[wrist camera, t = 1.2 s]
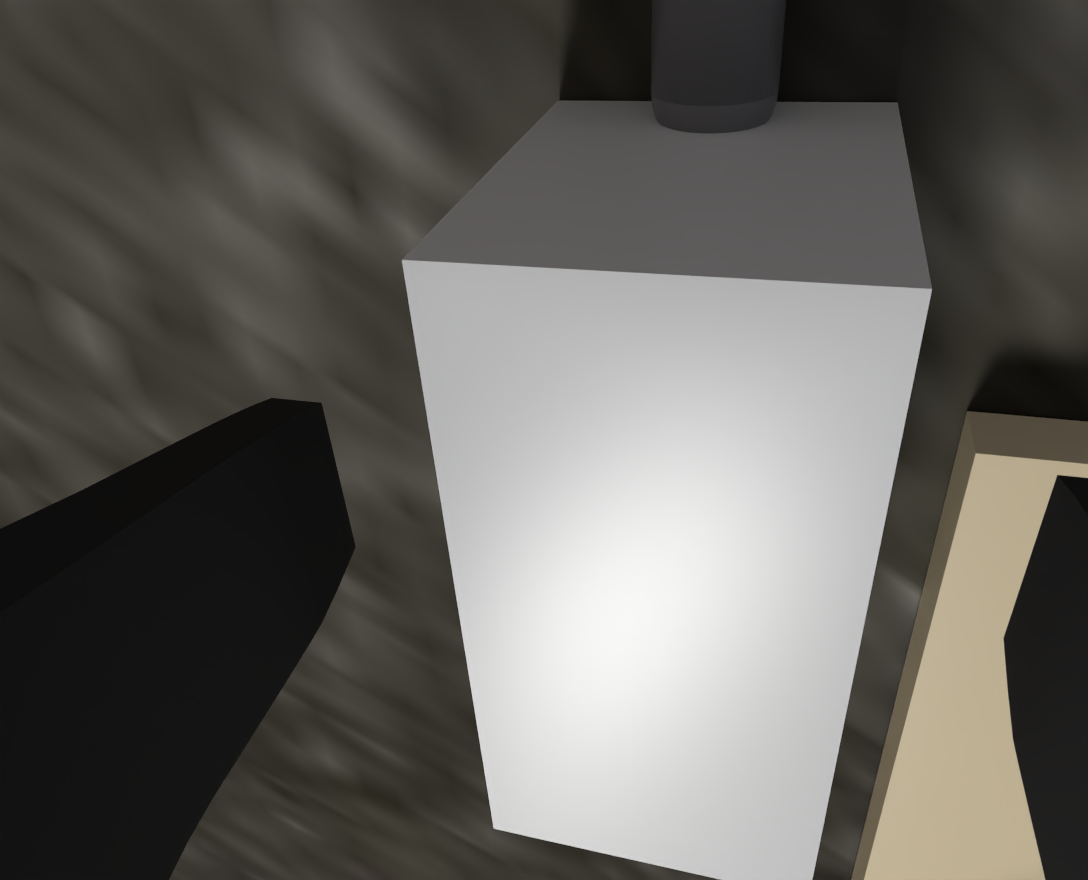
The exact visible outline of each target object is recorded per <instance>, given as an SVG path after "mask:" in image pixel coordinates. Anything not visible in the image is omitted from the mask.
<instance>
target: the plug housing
mask: <svg viewBox="0 0 1088 880" xmlns="http://www.w3.org/2000/svg"><path fill="white" fill-rule="evenodd" d="M785 11H786V0H652V16H651V99H652V101H557V102H556V103H555V104H554V105H553V106H552V107H551V108H550V109H549V110H548V111H547V112H546V113H545V114H544V115H543V117H542V118H541V119H540V120H539V121H538V122H537V123H536V124H535V125H534V126H533V127H532V128H531V129H530V130H529V131H528V132H527V133H526V134H525V135H524V136H523V137H522V138H521V139H520V140H519V141H518V142H517V143H516V144H515V145H514V146H513V147H512V148H511V149H510V150H509V151H508V152H507V153H506V154H505V155H504V156H503V157H502V158H501V159H500V160H499V161H498V162H497V163H496V164H495V165H494V166H493V167H492V168H491V169H490V171H489V172H488V173H487V174H486V175H485V176H484V177H483V178H482V179H481V180H480V181H479V182H478V183H477V184H476V185H475V186H474V187H473V188H472V189H471V190H470V191H469V192H468V193H467V194H466V195H465V196H464V197H463V198H462V199H461V200H460V201H459V202H458V203H457V204H456V205H455V206H454V207H453V208H452V209H451V210H450V211H449V212H448V213H447V214H446V215H445V216H444V217H443V218H442V219H441V220H440V221H439V222H438V224H437V225H436V226H435V227H434V228H433V229H432V230H431V231H430V232H429V233H428V234H427V235H426V236H425V237H424V238H423V239H422V240H421V241H420V242H419V243H418V244H417V245H416V246H415V247H414V248H413V249H412V250H411V251H410V252H409V253H408V254H407V255H406V256H405V257H404V258H403V259H402V264H403V270H404V276H405V283H406V289H407V295H408V301H409V307H410V314H411V320H412V326H413V332H414V338H415V345H416V351H417V357H418V363H419V369H420V375H421V382H422V388H423V394H424V400H425V406H426V413H427V419H428V425H429V431H430V437H431V443H432V450H433V456H434V462H435V468H436V474H437V481H438V487H439V493H440V499H441V505H442V512H443V518H444V524H445V530H446V536H447V542H448V549H449V555H450V561H451V567H452V573H453V580H454V586H455V592H456V598H457V604H458V610H459V617H460V623H461V629H462V635H463V641H464V648H465V654H466V660H467V666H468V672H469V679H470V685H471V691H472V697H473V703H474V709H475V716H476V722H477V728H478V734H479V740H480V747H481V753H482V759H483V765H484V771H485V777H486V784H487V790H488V796H489V802H490V808H491V815H492V821H493V827H494V829H498V830H502V831H507V832H511V833H516V834H520V835H525V836H529V837H533V838H538V839H542V840H547V841H551V842H556V843H560V844H565V845H569V846H574V847H578V848H582V849H587V850H591V851H596V852H600V853H605V854H609V855H614V856H618V857H623V858H627V859H631V860H636V861H640V862H645V863H649V864H654V865H658V866H663V867H667V868H672V869H676V870H680V871H685V872H689V873H694V874H698V875H703V876H707V877H712V878H716V879H721V880H812V879H813V874H814V869H815V864H816V859H817V854H818V849H819V844H820V839H821V834H822V829H823V824H824V820H825V815H826V810H827V805H828V800H829V795H830V790H831V785H832V780H833V775H834V770H835V765H836V760H837V755H838V751H839V746H840V741H841V736H842V731H843V726H844V721H845V716H846V711H847V706H848V701H849V696H850V691H851V686H852V682H853V677H854V672H855V667H856V662H857V657H858V652H859V647H860V642H861V637H862V632H863V627H864V622H865V617H866V612H867V608H868V603H869V598H870V593H871V588H872V583H873V578H874V573H875V568H876V563H877V558H878V553H879V548H880V543H881V539H882V534H883V529H884V524H885V519H886V514H887V509H888V504H889V499H890V494H891V489H892V484H893V479H894V474H895V469H896V465H897V460H898V455H899V450H900V445H901V440H902V435H903V430H904V425H905V420H906V415H907V410H908V405H909V400H910V396H911V391H912V386H913V381H914V376H915V371H916V366H917V361H918V356H919V351H920V346H921V341H922V336H923V331H924V327H925V322H926V317H927V312H928V307H929V302H930V297H931V292H932V286H931V280H930V275H929V270H928V264H927V259H926V253H925V248H924V243H923V237H922V232H921V226H920V221H919V216H918V210H917V205H916V199H915V194H914V189H913V183H912V178H911V173H910V167H909V162H908V156H907V151H906V146H905V140H904V135H903V129H902V124H901V119H900V113H899V108H898V102H777V97H778V92H779V82H780V70H781V58H782V47H783V35H784V23H785Z"/></svg>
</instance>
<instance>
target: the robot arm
mask: <svg viewBox="0 0 1088 880" xmlns="http://www.w3.org/2000/svg"><path fill="white" fill-rule="evenodd" d="M354 549H355V543H354V539H353V534H352V530H351V526H350V522H349V517H348V513H347V509H346V505H345V500H344V496H343V492H342V488H341V484H340V479H339V475H338V471H337V467H336V462H335V458H334V454H333V450H332V445H331V441H330V437H329V433H328V428H327V424H326V420H325V416H324V412H323V407H322V403H317V402H307V401H297V400H287V399H276V398H271V399H268V400H266V401H263V402H261V403H258V404H255V405H253V406H250V407H248V408H246V409H244V410H241V411H239V412H237V413H235V414H233V415H230V416H228V417H226V418H224V419H222V420H220V421H218V422H216V423H214V424H212V425H210V426H208V427H206V428H204V429H202V430H200V431H198V432H196V433H194V434H192V435H190V436H188V437H186V438H184V439H182V440H180V441H178V442H176V443H174V444H172V445H170V446H168V447H166V448H164V449H162V450H160V451H158V452H156V453H154V454H152V455H150V456H148V457H146V458H144V459H142V460H141V461H139V462H137V463H135V464H133V465H131V466H129V467H127V468H125V469H123V470H121V471H119V472H117V473H115V474H113V475H111V476H109V477H107V478H105V479H103V480H101V481H99V482H97V483H95V484H93V485H91V486H89V487H87V488H85V489H83V490H81V491H79V492H77V493H75V494H73V495H71V496H69V497H67V498H65V499H63V500H60V501H58V502H56V503H54V504H52V505H50V506H48V507H46V508H44V509H41V510H39V511H37V512H35V513H33V514H31V515H29V516H27V517H25V518H22V519H20V520H18V521H16V522H14V523H12V524H10V525H8V526H5V527H3V528H1V529H0V880H169V878H170V876H171V874H172V872H173V870H174V868H175V866H176V864H177V862H178V860H179V858H180V856H181V854H182V852H183V850H184V848H185V846H186V844H187V842H188V840H189V838H190V837H191V835H192V833H193V832H194V830H195V828H196V826H197V825H198V823H199V821H200V819H201V818H202V816H203V814H204V812H205V811H206V809H207V807H208V805H209V804H210V802H211V800H212V798H213V797H214V795H215V794H216V792H217V791H218V789H219V787H220V786H221V784H222V783H223V781H224V779H225V778H226V776H227V775H228V773H229V772H230V770H231V768H232V767H233V765H234V764H235V762H236V760H237V759H238V757H239V756H240V754H241V752H242V751H243V749H244V748H245V746H246V745H247V743H248V741H249V740H250V738H251V737H252V735H253V733H254V732H255V730H256V729H257V727H258V726H259V724H260V722H261V721H262V719H263V718H264V716H265V714H266V713H267V711H268V710H269V708H270V707H271V705H272V703H273V702H274V700H275V699H276V697H277V695H278V694H279V692H280V691H281V689H282V688H283V686H284V684H285V683H286V681H287V679H288V678H289V676H290V675H291V673H292V671H293V670H294V668H295V666H296V665H297V663H298V662H299V660H300V658H301V657H302V655H303V653H304V652H305V650H306V649H307V647H308V645H309V644H310V642H311V640H312V639H313V637H314V635H315V634H316V632H317V630H318V629H319V627H320V625H321V623H322V621H323V619H324V617H325V615H326V613H327V611H328V609H329V606H330V604H331V602H332V600H333V598H334V596H335V594H336V591H337V589H338V587H339V585H340V582H341V580H342V577H343V575H344V573H345V570H346V568H347V566H348V563H349V561H350V559H351V556H352V554H353V551H354ZM1003 639H1004V651H1005V663H1006V675H1007V687H1008V698H1009V707H1010V716H1011V726H1012V735H1013V742H1014V746H1015V751H1016V756H1017V760H1018V765H1019V769H1020V773H1021V778H1022V782H1023V786H1024V791H1025V795H1026V799H1027V804H1028V808H1029V812H1030V817H1031V821H1032V825H1033V830H1034V834H1035V838H1036V842H1037V846H1038V851H1039V855H1040V859H1041V863H1042V867H1043V872H1044V876H1045V880H1088V478H1083V477H1073V476H1063V475H1057V477H1056V481H1055V484H1054V487H1053V490H1052V493H1051V496H1050V499H1049V502H1048V505H1047V508H1046V511H1045V514H1044V517H1043V520H1042V523H1041V526H1040V529H1039V532H1038V535H1037V538H1036V541H1035V544H1034V547H1033V550H1032V553H1031V556H1030V559H1029V562H1028V565H1027V568H1026V571H1025V574H1024V577H1023V580H1022V584H1021V587H1020V590H1019V593H1018V596H1017V599H1016V602H1015V605H1014V608H1013V611H1012V614H1011V617H1010V620H1009V623H1008V626H1007V629H1006V632H1005V635H1004V638H1003Z"/></svg>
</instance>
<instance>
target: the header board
mask: <svg viewBox="0 0 1088 880" xmlns="http://www.w3.org/2000/svg"><path fill="white" fill-rule="evenodd" d="M1057 475H1063V476H1073V477H1083V478H1088V422H1087V421H1075V420H1064V419H1052V418H1041V417H1029V416H1018V415H1006V414H994V413H983V412H971V411H967V413H966V417H965V421H964V425H963V429H962V433H961V437H960V441H959V445H958V449H957V453H956V458H955V462H954V466H953V470H952V474H951V478H950V482H949V486H948V490H947V494H946V498H945V502H944V506H943V510H942V514H941V518H940V522H939V526H938V530H937V534H936V538H935V542H934V547H933V551H932V555H931V559H930V563H929V567H928V571H927V575H926V579H925V583H924V587H923V591H922V595H921V599H920V603H919V607H918V611H917V615H916V619H915V623H914V627H913V631H912V635H911V640H910V644H909V648H908V652H907V656H906V660H905V664H904V668H903V672H902V676H901V680H900V684H899V688H898V692H897V696H896V700H895V704H894V708H893V712H892V716H891V720H890V724H889V729H888V733H887V737H886V741H885V745H884V749H883V753H882V757H881V761H880V765H879V769H878V773H877V777H876V781H875V785H874V789H873V793H872V797H871V801H870V805H869V809H868V813H867V817H866V822H865V826H864V830H863V834H862V838H861V842H860V846H859V850H858V854H857V858H856V862H855V866H854V870H853V874H852V878H851V880H1045V876H1044V872H1043V867H1042V863H1041V859H1040V855H1039V851H1038V846H1037V842H1036V838H1035V834H1034V830H1033V825H1032V821H1031V817H1030V812H1029V808H1028V804H1027V799H1026V795H1025V791H1024V786H1023V782H1022V778H1021V773H1020V769H1019V765H1018V760H1017V756H1016V751H1015V746H1014V742H1013V735H1012V726H1011V716H1010V707H1009V698H1008V687H1007V675H1006V663H1005V651H1004V639H1003V638H1004V635H1005V632H1006V629H1007V626H1008V623H1009V620H1010V617H1011V614H1012V611H1013V608H1014V605H1015V602H1016V599H1017V596H1018V593H1019V590H1020V587H1021V584H1022V580H1023V577H1024V574H1025V571H1026V568H1027V565H1028V562H1029V559H1030V556H1031V553H1032V550H1033V547H1034V544H1035V541H1036V538H1037V535H1038V532H1039V529H1040V526H1041V523H1042V520H1043V517H1044V514H1045V511H1046V508H1047V505H1048V502H1049V499H1050V496H1051V493H1052V490H1053V487H1054V484H1055V481H1056V477H1057Z"/></svg>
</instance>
